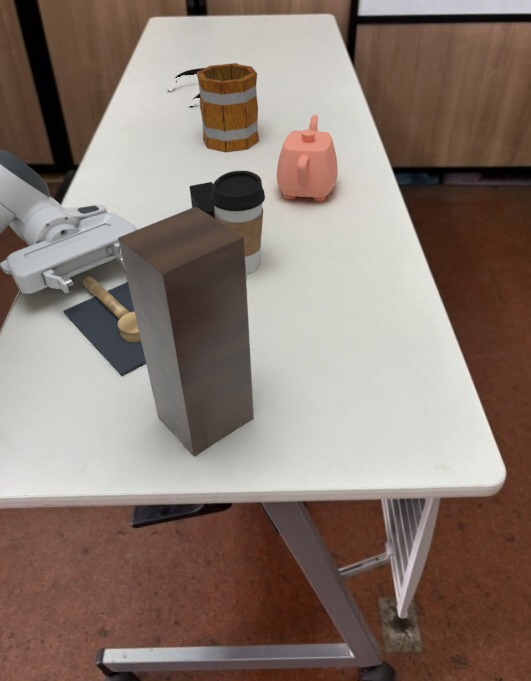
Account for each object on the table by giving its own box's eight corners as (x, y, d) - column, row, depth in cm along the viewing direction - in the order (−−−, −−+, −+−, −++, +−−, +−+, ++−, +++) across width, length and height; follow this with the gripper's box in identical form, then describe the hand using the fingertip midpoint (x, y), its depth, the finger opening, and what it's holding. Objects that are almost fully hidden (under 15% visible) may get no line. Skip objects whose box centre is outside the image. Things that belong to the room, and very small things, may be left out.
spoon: (73, 290, 91) (71, 280, 90) (101, 278, 93) (98, 269, 92) (130, 347, 81) (128, 337, 79) (159, 332, 83) (157, 322, 82)
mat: (63, 313, 87) (63, 310, 87) (132, 282, 93) (131, 279, 93) (121, 376, 77) (121, 373, 77) (195, 337, 83) (195, 334, 82)
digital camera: (187, 220, 107) (182, 186, 103) (214, 215, 109) (211, 180, 104) (202, 248, 100) (198, 213, 95) (231, 242, 101) (229, 206, 97)
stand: (157, 417, 71) (117, 237, 54) (216, 382, 76) (195, 206, 58) (194, 456, 67) (162, 274, 49) (254, 418, 71) (244, 237, 54)
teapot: (331, 215, 108) (335, 153, 100) (269, 211, 109) (268, 150, 101) (340, 168, 122) (344, 112, 114) (285, 165, 124) (285, 109, 116)
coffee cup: (275, 257, 98) (273, 174, 88) (253, 284, 92) (249, 199, 82) (231, 246, 100) (225, 165, 90) (207, 272, 95) (198, 189, 85)
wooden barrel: (255, 153, 129) (252, 83, 119) (196, 151, 131) (189, 82, 121) (266, 120, 144) (265, 55, 134) (213, 118, 145) (208, 55, 135)
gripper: (-12, 244, 86) (25, 285, 78) (110, 200, 96) (153, 233, 88) (2, 278, 90) (38, 320, 82) (117, 233, 100) (159, 267, 92)
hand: (98, 275), depth 85 cm, fingers open, 8 cm apart
